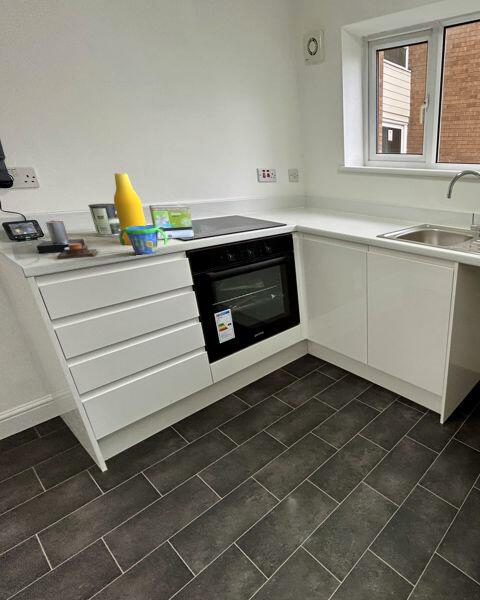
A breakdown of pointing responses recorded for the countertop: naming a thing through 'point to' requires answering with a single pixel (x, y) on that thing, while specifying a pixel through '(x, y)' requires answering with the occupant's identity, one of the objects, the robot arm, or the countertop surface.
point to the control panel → (56, 246)
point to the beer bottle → (127, 205)
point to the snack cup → (143, 238)
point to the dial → (57, 231)
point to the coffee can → (105, 219)
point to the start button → (75, 246)
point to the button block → (77, 253)
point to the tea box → (172, 220)
